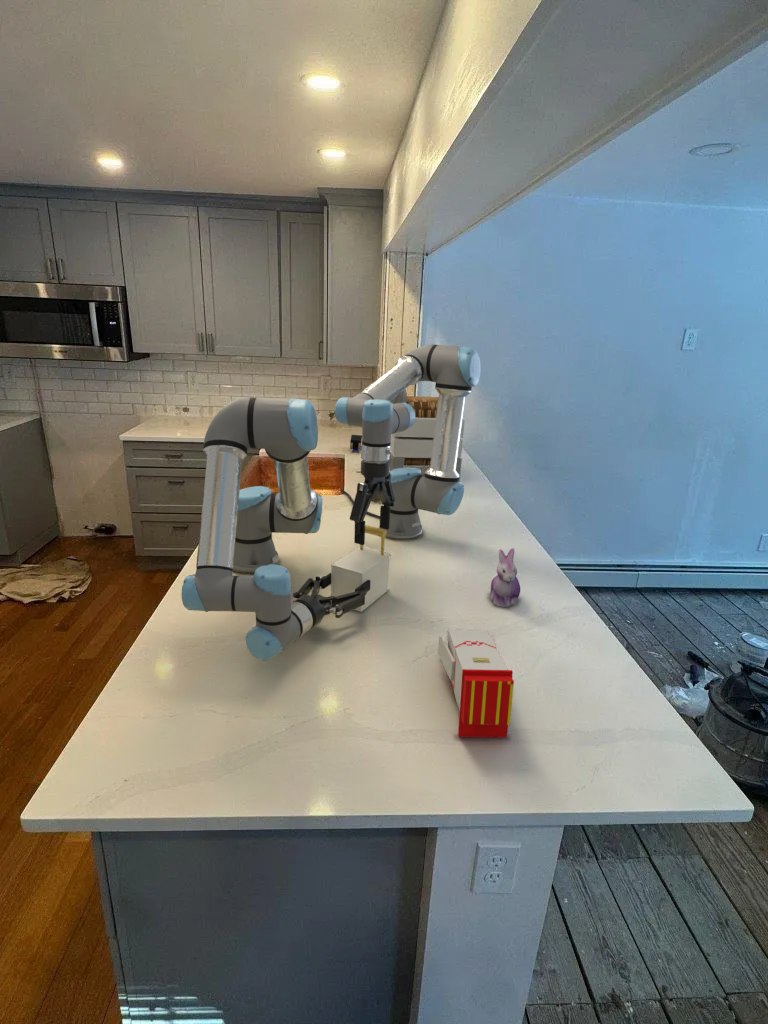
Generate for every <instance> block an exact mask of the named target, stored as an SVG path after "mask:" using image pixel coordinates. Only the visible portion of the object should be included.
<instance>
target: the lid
mask: <svg viewBox="0 0 768 1024" xmlns="http://www.w3.org/2000/svg"><path fill="white" fill-rule="evenodd" d="M365 534H369V535H372V536H377V537H380V538H381V539H380V550H379V549H375V548H372V547H368V546H364V545H360V544H359V547H357V548H356V549H354V550H353V551H351V552H349V553H347V554H346V555H344V556H343V557H341V558H340V559H338V560H337V561H334V562H333V563H331V567H332V568H336V569H339V570H342V571H346V572H349V573H353V574H356V575H360V576H364V575H365V574H367V573H368V572H369V571H371V570H372V569H374V568H375V567H376V566H378V565H379V564H380V563H382V562H383V561H385V560H386V559H387V558H389V559H390V557H391V556H392V553H391V552H387V551H385V541H386V540H385V539H386V537H385V536H386V534H387V531H386V530H384V529H380V528H379V527H375V526H371V525H367V524H365Z"/></svg>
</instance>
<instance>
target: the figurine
mask: <svg viewBox="0 0 768 1024" xmlns="http://www.w3.org/2000/svg"><path fill="white" fill-rule="evenodd" d="M514 558H515V548H514V547H512V548H511V549H509V551H508V553H507V555H506V554H505V551H503V549H501V548H499V549H498V565H497V568H496V574H497V575H495V576H494V577H493V578H492V579H491V582H490V591H489V599H490V600H491V601H492V602H493V604H494V605H495V606H497V607H503V608H507V607H510V606H514V605H516V603H518V601H519V597H520V594H521V584H520V581H519V579H518V577H517V576H518V569H517V567H516V564H515V561H514Z"/></svg>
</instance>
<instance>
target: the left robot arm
mask: <svg viewBox="0 0 768 1024" xmlns="http://www.w3.org/2000/svg"><path fill="white" fill-rule="evenodd" d="M315 408H316V407H315V406H314V403H312V402H311V401H310V400H308V399H300V398H296V397H292V398H287V397H286V398H282V397H281V398H279V397H252V396H244V397H239V398H236V399H234V400H232V401H230V402H228V403H227V404H226V405H224V406H223V407H222V408H221V409H220V410H219V411H218V412H217V413H216V415H214V417H213V419H212V420H211V422H210V424H209V426H208V427H207V430H206V433H205V436H204V439H203V448H202V454H203V456H204V457H205V458H206V464H205V465H206V466H205V476H204V484H203V485H204V486H203V494H202V495H203V496H202V505H201V516H200V525H199V535H198V537H199V538H198V543H197V544H198V546H197V555H196V563H195V564H196V566H195V568H196V569H195V574H194V573H193V574H188V575H185V578H184V579H183V583H182V586H181V601H182V605H183V607H184V608H185V609H186V610H188V611H197V612H204V613H208V612H237V613H239V612H240V613H241V612H244V613H255V626H254V627H253V626H252V628H251V629H250V630H249V631H248V632H247V633H246V635H245V646H246V648H247V650H248V652H249V653H250V655H252V657H253V658H255V659H258V660H260V661H263V662H265V661H269V660H271V659H272V658H274V657H276V656H278V655H280V654H281V653H282V652H283V651H284V650H285V649H287V648H288V647H289V646H290V645H291V644H294V642H296V641H297V640H298V639H299V638H301V637H303V635H305V634H306V633H307V632H308V631H310V630H311V629H313V628H314V627H316V626H317V625H318V624H319V623H321V622H322V620H323V618H324V617H325V616H328V615H330V614H333V615H335V616H334V617H335V618H336V619H340V618H342V616H343V615H345V614H347V613H350V612H351V611H353V610H354V609H356V608H358V607H360V606H362V605H364V604H365V595H366V594H367V592H368V591H369V590H370V581H371V580H367V581H366V582H364V583H363V584H361V585H360V586H359V587H357V588H356V589H355V592H352V593H348V594H344V595H340V596H336V597H335V596H331V595H330V596H323V595H322V594H320V592H321V591H320V590H325V589H326V588H328V587H329V586H331V572H330V573H328V574H326V575H324V576H322V577H320V576H318V575H317V576H315V579H314V578H311V577H309V578H307V580H306V581H305V582H304V583H303V584H302V585H301V587H300V588H299V589H298V590H297V591H295V592H293V593H292V586H291V574H290V571H289V570H288V568H286V567H285V566H283V565H280V564H279V562H280V561H279V559H280V557H279V553H278V551H277V550H276V546H275V542H274V541H273V533H279V534H305V535H309V534H317V533H318V532H319V530H320V528H321V521H322V513H323V496H322V495H321V494H318V493H316V492H315V491H314V490H313V488H312V487H311V479H310V470H309V460H308V456H309V455H310V453H311V451H314V450H316V448H317V446H318V443H319V442H318V441H319V426H318V416H317V412H316V409H315ZM249 449H252V450H264V451H265V453H266V455H267V456H268V457H269V458H270V459H271V460H272V461H273V466H274V471H275V472H274V473H275V477H276V482H277V487H278V492H277V493H275V492H274V493H273V492H272V490H271V488H270V487H268V486H265V485H264V486H263V485H258V486H257V485H255V486H248V487H245V488H240V487H241V475H242V464H243V463H242V462H243V461H245V460H247V457H248V450H249ZM233 572H237V573H239V574H253V575H233ZM310 592H311V593H310ZM309 594H310V595H309ZM292 598H293V599H292ZM331 600H332V602H331Z"/></svg>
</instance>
